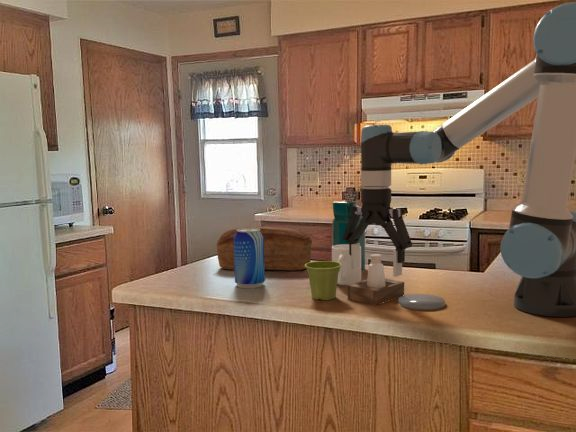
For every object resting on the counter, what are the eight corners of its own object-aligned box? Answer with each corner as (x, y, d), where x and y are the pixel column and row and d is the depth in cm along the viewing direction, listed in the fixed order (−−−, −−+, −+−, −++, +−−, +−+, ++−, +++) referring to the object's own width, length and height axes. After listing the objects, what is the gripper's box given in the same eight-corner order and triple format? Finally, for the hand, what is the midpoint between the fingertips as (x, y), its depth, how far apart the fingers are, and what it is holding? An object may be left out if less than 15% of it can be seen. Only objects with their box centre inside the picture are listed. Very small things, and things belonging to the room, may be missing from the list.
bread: (310, 273, 170) (309, 230, 168) (214, 271, 175) (212, 229, 173) (314, 265, 182) (313, 224, 180) (224, 263, 187) (223, 224, 185)
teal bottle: (344, 266, 178) (343, 198, 176) (367, 268, 174) (367, 199, 171) (328, 271, 171) (327, 201, 168) (352, 274, 166) (351, 202, 163)
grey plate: (453, 303, 134) (453, 299, 133) (429, 313, 126) (429, 308, 126) (414, 295, 141) (414, 291, 141) (389, 304, 133) (389, 300, 133)
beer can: (271, 284, 155) (269, 229, 153) (249, 290, 149) (247, 232, 147) (250, 280, 161) (249, 226, 159) (229, 286, 155) (227, 230, 153)
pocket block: (404, 295, 142) (404, 282, 141) (376, 305, 133) (376, 291, 133) (375, 289, 148) (375, 276, 147) (347, 298, 139) (347, 285, 139)
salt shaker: (361, 297, 140) (361, 255, 139) (373, 293, 144) (373, 251, 143) (379, 301, 137) (379, 257, 135) (390, 296, 141) (391, 254, 139)
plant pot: (315, 304, 135) (314, 269, 134) (299, 295, 144) (298, 262, 143) (348, 299, 139) (348, 265, 138) (331, 291, 147) (330, 259, 146)
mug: (354, 289, 148) (353, 252, 147) (324, 287, 151) (324, 250, 150) (364, 279, 159) (364, 244, 158) (336, 277, 162) (336, 243, 161)
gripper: (427, 188, 131) (426, 276, 134) (347, 185, 148) (347, 263, 151) (410, 190, 126) (409, 281, 128) (329, 186, 143) (329, 267, 146)
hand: (376, 271), depth 140 cm, fingers open, 12 cm apart
